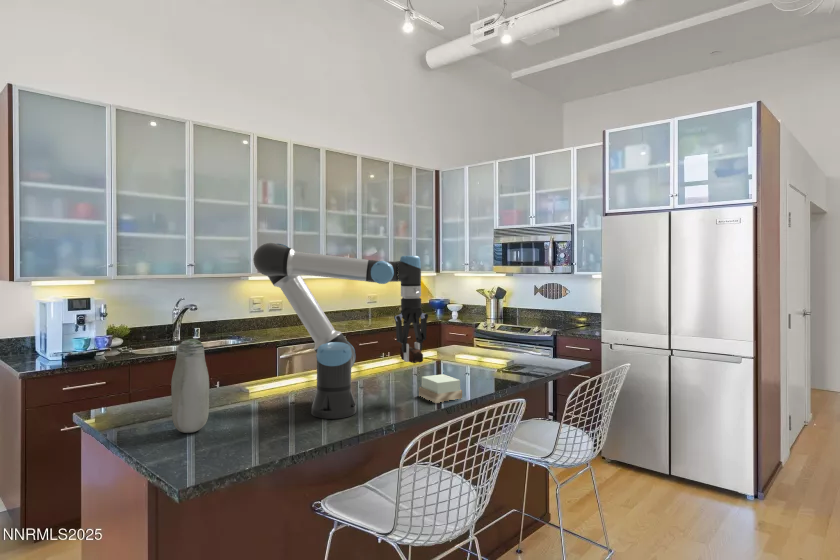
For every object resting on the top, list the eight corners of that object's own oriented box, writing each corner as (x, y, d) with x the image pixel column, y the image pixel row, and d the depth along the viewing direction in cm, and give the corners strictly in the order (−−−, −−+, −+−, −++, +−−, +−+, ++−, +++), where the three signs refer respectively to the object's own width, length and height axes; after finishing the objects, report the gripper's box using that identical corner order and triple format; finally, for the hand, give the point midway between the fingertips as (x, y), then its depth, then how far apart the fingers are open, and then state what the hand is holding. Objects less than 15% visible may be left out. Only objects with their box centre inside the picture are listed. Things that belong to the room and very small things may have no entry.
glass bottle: (202, 436, 153) (201, 342, 152) (166, 436, 152) (165, 341, 151) (213, 426, 163) (213, 337, 162) (180, 426, 162) (179, 337, 161)
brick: (399, 359, 196) (399, 347, 196) (409, 358, 198) (408, 346, 198) (414, 364, 187) (413, 351, 187) (423, 362, 189) (423, 349, 189)
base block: (435, 404, 192) (435, 394, 192) (418, 397, 202) (419, 387, 202) (462, 400, 198) (462, 390, 198) (444, 393, 208) (444, 383, 208)
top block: (437, 393, 192) (437, 383, 192) (421, 386, 202) (421, 376, 202) (460, 390, 197) (460, 380, 197) (443, 384, 207) (443, 374, 207)
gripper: (395, 299, 184) (396, 364, 185) (436, 297, 192) (436, 359, 193) (385, 298, 190) (386, 361, 191) (425, 296, 199) (426, 356, 200)
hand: (411, 360), depth 192 cm, fingers closed on brick, 4 cm apart
